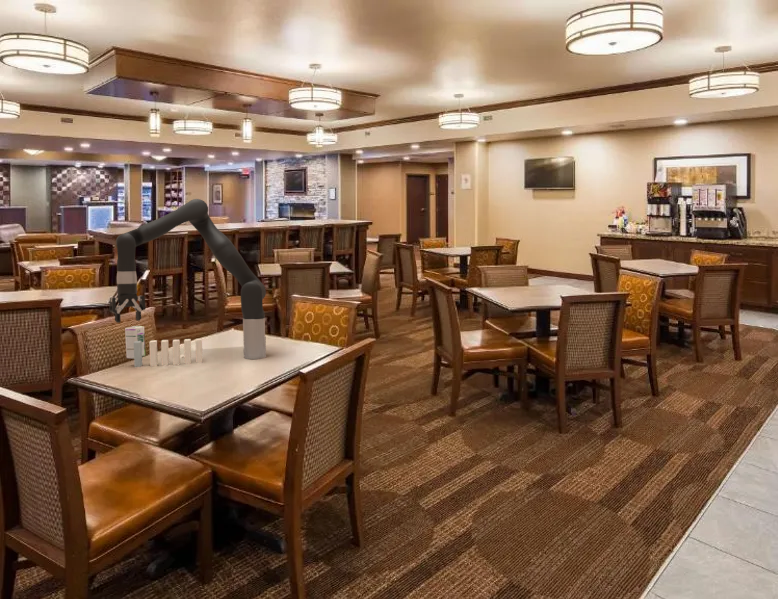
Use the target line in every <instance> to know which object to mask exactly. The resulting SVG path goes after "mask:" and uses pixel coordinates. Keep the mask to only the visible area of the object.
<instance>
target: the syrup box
mask: <svg viewBox="0 0 778 599" xmlns="http://www.w3.org/2000/svg"><path fill="white" fill-rule="evenodd" d="M124 335H125V337H124V338H125V353H126V359H134V342H135V341H142V358H143V357H145V356H146V355H147V354H146V337H145V326H144V325H143V326H142V325H135V326H129V327H125V328H124Z"/></svg>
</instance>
